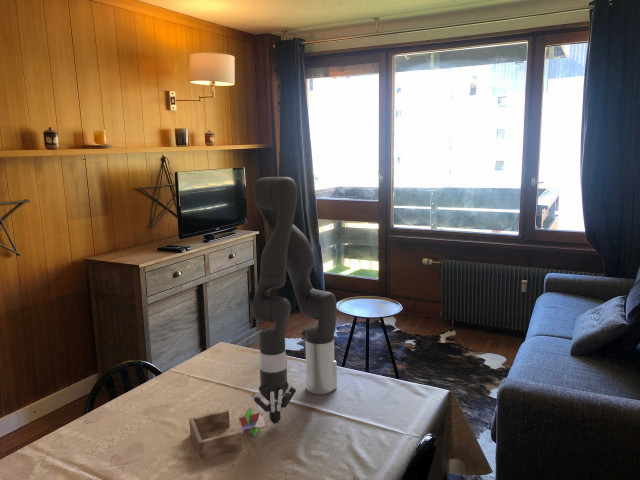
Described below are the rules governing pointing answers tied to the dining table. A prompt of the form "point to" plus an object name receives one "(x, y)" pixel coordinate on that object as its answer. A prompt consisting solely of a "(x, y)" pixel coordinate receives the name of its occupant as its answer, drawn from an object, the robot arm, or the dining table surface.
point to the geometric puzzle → (252, 422)
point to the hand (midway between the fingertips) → (275, 422)
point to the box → (214, 444)
